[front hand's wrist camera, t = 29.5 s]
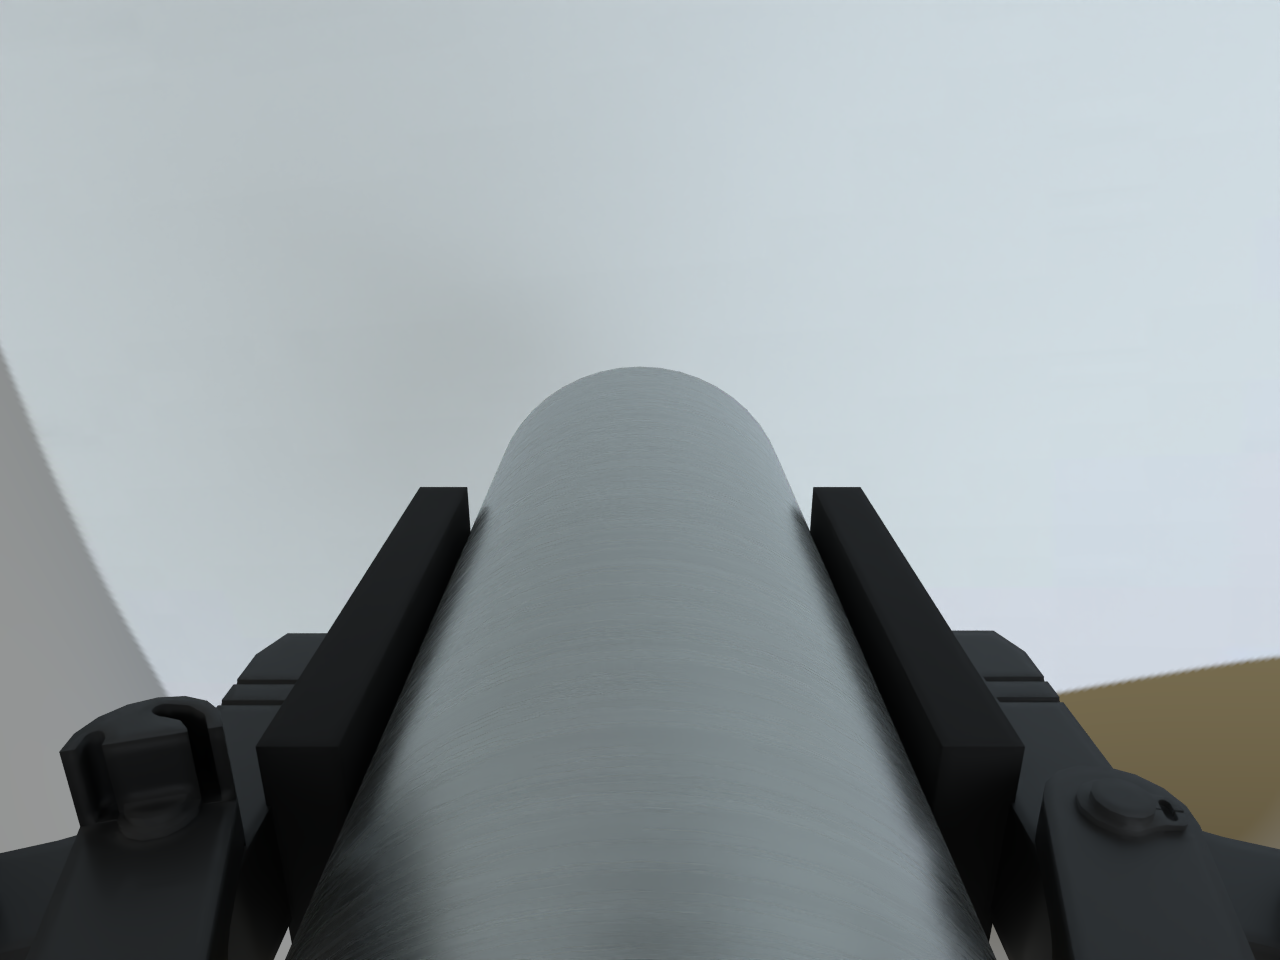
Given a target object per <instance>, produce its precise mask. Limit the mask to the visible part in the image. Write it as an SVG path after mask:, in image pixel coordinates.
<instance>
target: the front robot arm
mask: <svg viewBox="0 0 1280 960" xmlns="http://www.w3.org/2000/svg"><path fill="white" fill-rule="evenodd" d="M810 533H811V535H812V537H813V540H814V542H815V544H816V547H817V549H818V551H819V554H820V556H821V558H822V560H823V563H824V565H825V567H826V570H827V572H828V574H829V576H830V579H831V581H832V583H833V586H834V588H835V590H836V593H837V595H838V597H839V599H840V602H841V604H842V606H843V609H844V611H845V613H846V616H847V618H848V620H849V622H850V625H851V627H852V629H853V632H854V634H855V636H856V639H857V641H858V643H859V645H860V648H861V650H862V652H863V655H864V657H865V659H866V661H867V664H868V666H869V668H870V671H871V673H872V675H873V678H874V680H875V682H876V684H877V687H878V689H879V691H880V694H881V696H882V698H883V701H884V703H885V705H886V707H887V710H888V712H889V714H890V717H891V719H892V721H893V723H894V726H895V728H896V730H897V733H898V735H899V737H900V740H901V742H902V744H903V746H904V749H905V751H906V753H907V756H908V758H909V760H910V763H911V765H912V767H913V769H914V772H915V774H916V776H917V779H918V781H919V783H920V786H921V788H922V790H923V792H924V795H925V797H926V799H927V802H928V804H929V806H930V808H931V811H932V813H933V815H934V818H935V820H936V822H937V825H938V827H939V829H940V831H941V834H942V836H943V838H944V841H945V843H946V845H947V848H948V850H949V852H950V854H951V857H952V859H953V861H954V864H955V866H956V868H957V871H958V873H959V875H960V877H961V880H962V882H963V884H964V887H965V889H966V891H967V893H968V896H969V898H970V900H971V903H972V905H973V907H974V910H975V912H976V914H977V916H978V919H979V921H980V923H981V926H982V928H983V930H984V933H985V935H986V937H987V939H988V942H989V939H990V934H991V928H992V923H993V925H994V928H995V930H996V932H997V934H998V936H999V939H1000V941H1001V943H1002V945H1003V948H1004V950H1005V952H1006V954H1007V956H1008V959H1009V960H1280V849H1275V848H1271V847H1266V846H1262V845H1257V844H1252V843H1248V842H1243V841H1239V840H1234V839H1229V838H1225V837H1221V836H1218V835H1214V834H1211V833H1207V832H1204V831H1202V830H1201V827H1200V825H1199V824H1198V822H1197V821H1196V819H1195V818H1194V817H1193V815H1192V814H1191V812H1190V811H1189V809H1188V808H1187V807H1186V806H1185V805H1184V804H1183V803H1182V802H1180V801H1179V800H1178V799H1176V798H1175V797H1174V796H1173V795H1171V794H1170V793H1169V792H1168V791H1166V790H1165V789H1164V788H1162V787H1160V786H1158V785H1156V784H1154V783H1152V782H1150V781H1148V780H1145V779H1143V778H1141V777H1139V776H1137V775H1135V774H1131V773H1127V772H1124V771H1120V770H1117V769H1113V768H1112V767H1111V765H1110V764H1109V762H1108V761H1107V760H1106V758H1105V757H1104V756H1103V754H1102V753H1101V752H1100V751H1099V749H1098V748H1097V747H1096V745H1095V744H1094V743H1093V741H1092V740H1091V739H1090V737H1089V736H1088V735H1087V733H1086V732H1085V731H1084V729H1083V728H1082V727H1081V725H1080V724H1079V723H1078V721H1077V720H1076V719H1075V717H1074V716H1073V715H1072V713H1071V712H1070V711H1069V709H1068V708H1067V707H1066V705H1065V704H1064V703H1063V702H1060V701H1059V696H1058V695H1057V693H1056V692H1055V691H1054V689H1053V688H1052V687H1051V685H1050V684H1049V683H1048V682H1044V676H1043V675H1042V673H1041V672H1040V671H1039V670H1038V668H1037V667H1036V666H1035V664H1034V663H1033V662H1032V660H1031V659H1030V658H1029V656H1028V655H1027V654H1026V652H1025V651H1023V650H1022V649H1020V648H1019V647H1017V646H1016V645H1014V644H1013V643H1011V642H1010V641H1008V640H1007V639H1005V638H1004V637H1002V636H1001V635H999V634H998V633H996V632H995V631H951V629H950V627H949V626H948V624H947V623H946V621H945V620H944V618H943V616H942V615H941V613H940V612H939V610H938V608H937V607H936V605H935V604H934V602H933V601H932V599H931V597H930V596H929V594H928V593H927V591H926V590H925V588H924V586H923V585H922V583H921V582H920V580H919V579H918V577H917V575H916V574H915V572H914V571H913V569H912V568H911V566H910V564H909V563H908V561H907V560H906V558H905V557H904V555H903V553H902V552H901V550H900V549H899V547H898V546H897V544H896V542H895V541H894V539H893V538H892V536H891V534H890V533H889V531H888V530H887V528H886V527H885V525H884V523H883V522H882V520H881V519H880V517H879V516H878V514H877V512H876V511H875V509H874V508H873V506H872V505H871V503H870V501H869V500H868V498H867V497H866V495H865V494H864V492H863V490H862V489H861V487H813V499H812V512H811V526H810ZM469 534H470V518H469V505H468V491H467V487H420V488H419V490H418V491H417V493H416V494H415V496H414V498H413V499H412V501H411V502H410V504H409V505H408V507H407V509H406V510H405V512H404V513H403V515H402V516H401V518H400V520H399V521H398V523H397V524H396V526H395V527H394V529H393V531H392V532H391V534H390V535H389V537H388V539H387V540H386V542H385V543H384V545H383V546H382V548H381V550H380V551H379V553H378V554H377V556H376V557H375V559H374V561H373V562H372V564H371V565H370V567H369V568H368V570H367V572H366V573H365V575H364V576H363V578H362V579H361V581H360V583H359V584H358V586H357V587H356V589H355V590H354V592H353V594H352V595H351V597H350V598H349V600H348V602H347V603H346V605H345V606H344V608H343V609H342V611H341V613H340V614H339V616H338V617H337V619H336V620H335V622H334V624H333V625H332V627H331V628H330V630H329V631H328V633H287V634H286V635H284V636H283V637H282V638H280V639H279V640H277V641H276V642H274V643H273V644H271V645H270V646H268V647H267V648H265V649H264V650H262V651H261V652H259V653H258V654H256V655H255V657H254V658H253V659H252V661H251V662H250V663H249V665H248V666H247V667H246V669H245V670H244V671H243V673H242V674H241V675H240V677H239V678H238V679H237V684H234V685H233V686H232V687H231V689H230V690H229V691H228V693H227V694H226V695H225V697H224V698H223V699H222V705H218V706H217V707H216V708H215V707H214V706H213V705H212V704H210V703H209V702H208V701H205V700H201V699H196V698H192V697H187V696H179V697H158V698H154V699H150V700H145V701H142V702H137V703H133V704H129V705H126V706H124V707H121V708H119V709H116V710H114V711H112V712H109V713H107V714H105V715H102V716H100V717H98V718H97V719H95V720H94V721H92V722H91V723H89V724H88V725H86V726H85V727H83V728H82V729H81V730H79V731H78V732H76V733H75V734H74V735H73V736H72V737H71V738H70V739H69V741H68V742H67V743H66V744H65V746H64V747H63V748H62V749H61V751H60V756H61V760H62V763H63V767H64V770H65V774H66V777H67V781H68V785H69V788H70V792H71V795H72V799H73V802H74V806H75V809H76V813H77V816H78V820H79V823H80V829H79V831H78V834H77V835H76V836H73V837H69V838H66V839H62V840H59V841H54V842H50V843H45V844H41V845H36V846H31V847H27V848H22V849H18V850H14V851H9V852H4V853H0V960H274V958H275V955H276V953H277V951H278V949H279V947H280V944H281V942H282V940H283V938H284V935H285V933H286V931H287V929H288V927H289V930H290V936H291V941H292V943H293V940H294V938H295V936H296V933H297V931H298V929H299V927H300V924H301V922H302V920H303V917H304V915H305V913H306V910H307V908H308V906H309V903H310V901H311V899H312V897H313V894H314V892H315V890H316V887H317V885H318V883H319V880H320V878H321V876H322V873H323V871H324V869H325V867H326V864H327V862H328V860H329V857H330V855H331V853H332V850H333V848H334V846H335V843H336V841H337V839H338V837H339V834H340V832H341V830H342V827H343V825H344V823H345V820H346V818H347V816H348V813H349V811H350V809H351V807H352V804H353V802H354V800H355V797H356V795H357V793H358V790H359V788H360V786H361V783H362V781H363V779H364V777H365V774H366V772H367V770H368V767H369V765H370V763H371V760H372V758H373V756H374V753H375V751H376V749H377V747H378V744H379V742H380V740H381V737H382V735H383V733H384V730H385V728H386V726H387V723H388V721H389V719H390V717H391V714H392V712H393V710H394V707H395V705H396V703H397V700H398V698H399V696H400V693H401V691H402V689H403V687H404V684H405V682H406V680H407V677H408V675H409V673H410V670H411V668H412V666H413V663H414V661H415V659H416V657H417V654H418V652H419V650H420V647H421V645H422V643H423V640H424V638H425V636H426V634H427V631H428V629H429V627H430V624H431V622H432V620H433V617H434V615H435V613H436V610H437V608H438V606H439V604H440V601H441V599H442V597H443V594H444V592H445V590H446V587H447V585H448V583H449V580H450V578H451V576H452V574H453V571H454V569H455V567H456V564H457V562H458V560H459V557H460V555H461V553H462V550H463V548H464V546H465V544H466V541H467V539H468V537H469Z"/></svg>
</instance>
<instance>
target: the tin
mask: <svg viewBox="0 0 1280 960" xmlns="http://www.w3.org/2000/svg"><path fill="white" fill-rule="evenodd" d="M285 960H996V958H995V956H994V953H993V951H992V949H991V946H990V944H989V942H988V939H987V937H986V935H985V933H984V930H983V928H982V926H981V923H980V921H979V919H978V916H977V914H976V912H975V910H974V907H973V905H972V903H971V900H970V898H969V896H968V893H967V891H966V889H965V887H964V884H963V882H962V880H961V877H960V875H959V873H958V871H957V868H956V866H955V864H954V861H953V859H952V857H951V854H950V852H949V850H948V848H947V845H946V843H945V841H944V838H943V836H942V834H941V831H940V829H939V827H938V825H937V822H936V820H935V818H934V815H933V813H932V811H931V808H930V806H929V804H928V802H927V799H926V797H925V795H924V792H923V790H922V788H921V786H920V783H919V781H918V779H917V776H916V774H915V772H914V769H913V767H912V765H911V763H910V760H909V758H908V756H907V753H906V751H905V749H904V746H903V744H902V742H901V740H900V737H899V735H898V733H897V730H896V728H895V726H894V723H893V721H892V719H891V717H890V714H889V712H888V710H887V707H886V705H885V703H884V701H883V698H882V696H881V694H880V691H879V689H878V687H877V684H876V682H875V680H874V678H873V675H872V673H871V671H870V668H869V666H868V664H867V661H866V659H865V657H864V655H863V652H862V650H861V648H860V645H859V643H858V641H857V639H856V636H855V634H854V632H853V629H852V627H851V625H850V622H849V620H848V618H847V616H846V613H845V611H844V609H843V606H842V604H841V602H840V599H839V597H838V595H837V593H836V590H835V588H834V586H833V583H832V581H831V579H830V576H829V574H828V572H827V570H826V567H825V565H824V563H823V560H822V558H821V556H820V554H819V551H818V549H817V547H816V544H815V542H814V540H813V537H812V535H811V533H810V531H809V528H808V526H807V524H806V521H805V519H804V517H803V514H802V512H801V510H800V508H799V505H798V503H797V501H796V498H795V496H794V494H793V491H792V489H791V487H790V485H789V482H788V480H787V478H786V475H785V473H784V471H783V469H782V466H781V464H780V462H779V459H778V457H777V455H776V453H775V451H774V448H773V446H772V444H771V442H770V440H769V438H768V437H767V435H766V434H765V432H764V431H763V429H762V427H761V426H760V424H759V423H758V422H757V421H756V420H755V419H754V417H753V416H752V415H751V414H750V413H749V412H748V411H747V410H746V409H745V408H744V407H743V406H742V405H741V404H740V403H738V402H737V401H736V400H735V399H734V398H733V397H731V396H730V395H728V394H727V393H725V392H724V391H722V390H721V389H719V388H718V387H716V386H714V385H712V384H710V383H708V382H706V381H704V380H702V379H700V378H697V377H694V376H691V375H688V374H685V373H682V372H678V371H673V370H668V369H663V368H653V367H628V368H618V369H612V370H607V371H602V372H598V373H595V374H593V375H590V376H587V377H584V378H581V379H579V380H577V381H575V382H573V383H571V384H569V385H567V386H564V387H563V388H561V389H560V390H558V391H557V392H555V393H554V394H552V395H551V396H549V397H548V398H547V399H545V400H544V401H543V402H542V403H541V404H540V405H539V406H537V407H536V408H535V409H534V410H533V411H532V412H531V413H530V415H529V416H528V417H527V418H526V419H525V420H524V421H523V423H522V424H521V425H520V427H519V428H518V430H517V431H516V433H515V434H514V436H513V437H512V439H511V441H510V443H509V445H508V447H507V449H506V452H505V454H504V456H503V458H502V460H501V463H500V465H499V467H498V470H497V472H496V474H495V477H494V479H493V481H492V484H491V486H490V488H489V490H488V493H487V495H486V497H485V500H484V502H483V504H482V507H481V509H480V511H479V514H478V516H477V518H476V520H475V523H474V525H473V527H472V530H471V532H470V534H469V537H468V539H467V541H466V544H465V546H464V548H463V550H462V553H461V555H460V557H459V560H458V562H457V564H456V567H455V569H454V571H453V574H452V576H451V578H450V580H449V583H448V585H447V587H446V590H445V592H444V594H443V597H442V599H441V601H440V604H439V606H438V608H437V610H436V613H435V615H434V617H433V620H432V622H431V624H430V627H429V629H428V631H427V634H426V636H425V638H424V640H423V643H422V645H421V647H420V650H419V652H418V654H417V657H416V659H415V661H414V663H413V666H412V668H411V670H410V673H409V675H408V677H407V680H406V682H405V684H404V687H403V689H402V691H401V693H400V696H399V698H398V700H397V703H396V705H395V707H394V710H393V712H392V714H391V717H390V719H389V721H388V723H387V726H386V728H385V730H384V733H383V735H382V737H381V740H380V742H379V744H378V747H377V749H376V751H375V753H374V756H373V758H372V760H371V763H370V765H369V767H368V770H367V772H366V774H365V777H364V779H363V781H362V783H361V786H360V788H359V790H358V793H357V795H356V797H355V800H354V802H353V804H352V807H351V809H350V811H349V813H348V816H347V818H346V820H345V823H344V825H343V827H342V830H341V832H340V834H339V837H338V839H337V841H336V843H335V846H334V848H333V850H332V853H331V855H330V857H329V860H328V862H327V864H326V867H325V869H324V871H323V873H322V876H321V878H320V880H319V883H318V885H317V887H316V890H315V892H314V894H313V897H312V899H311V901H310V903H309V906H308V908H307V910H306V913H305V915H304V917H303V920H302V922H301V924H300V927H299V929H298V931H297V933H296V936H295V938H294V940H293V943H292V945H291V947H290V950H289V952H288V954H287V957H286V959H285Z"/></svg>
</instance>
